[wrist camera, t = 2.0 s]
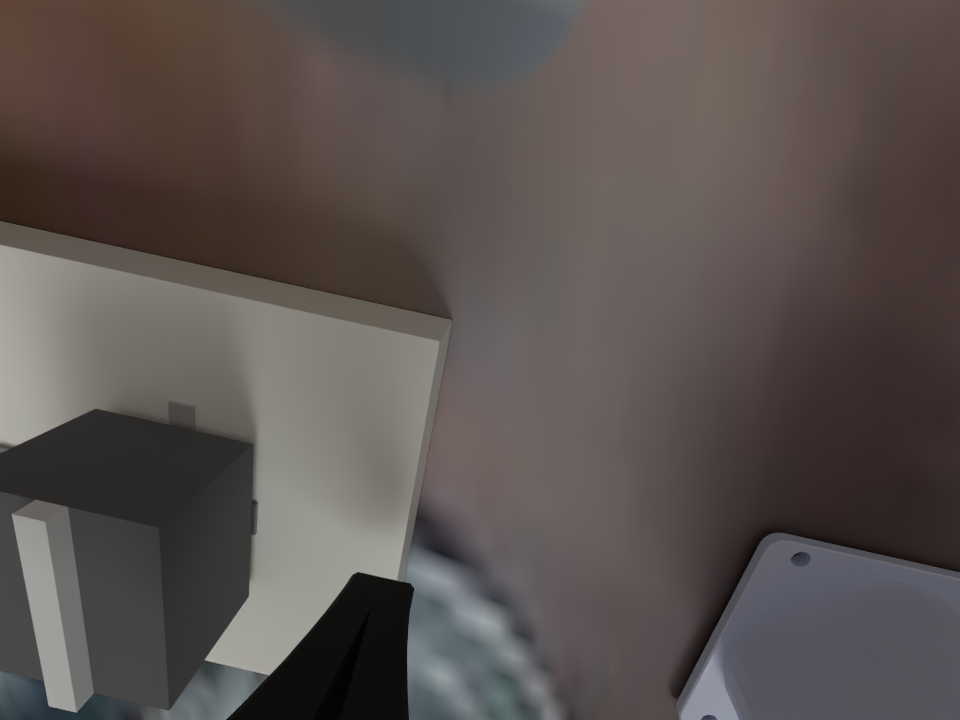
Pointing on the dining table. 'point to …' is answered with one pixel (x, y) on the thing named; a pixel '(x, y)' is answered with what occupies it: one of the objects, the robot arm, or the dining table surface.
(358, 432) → the control panel
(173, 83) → the dining table surface
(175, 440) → the block
